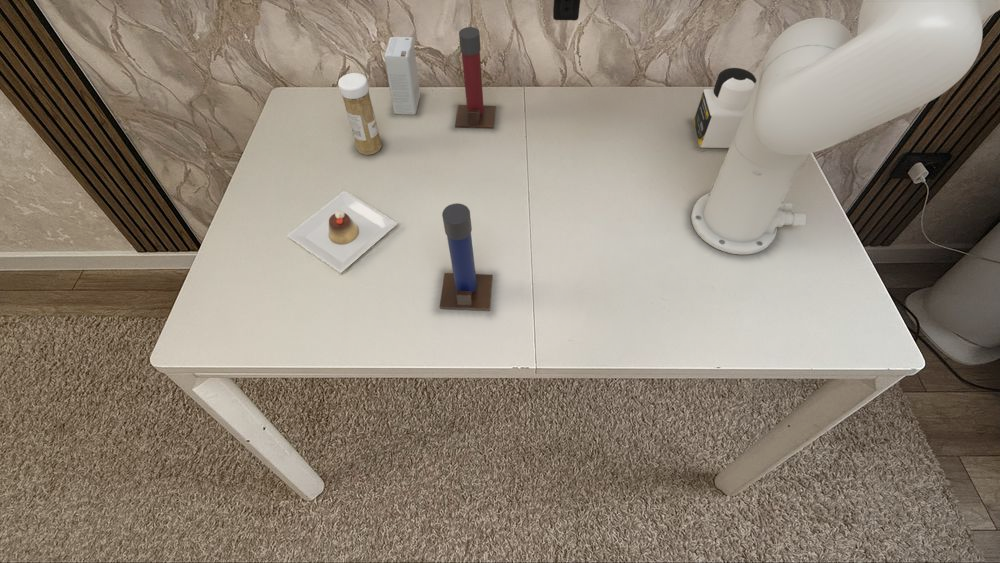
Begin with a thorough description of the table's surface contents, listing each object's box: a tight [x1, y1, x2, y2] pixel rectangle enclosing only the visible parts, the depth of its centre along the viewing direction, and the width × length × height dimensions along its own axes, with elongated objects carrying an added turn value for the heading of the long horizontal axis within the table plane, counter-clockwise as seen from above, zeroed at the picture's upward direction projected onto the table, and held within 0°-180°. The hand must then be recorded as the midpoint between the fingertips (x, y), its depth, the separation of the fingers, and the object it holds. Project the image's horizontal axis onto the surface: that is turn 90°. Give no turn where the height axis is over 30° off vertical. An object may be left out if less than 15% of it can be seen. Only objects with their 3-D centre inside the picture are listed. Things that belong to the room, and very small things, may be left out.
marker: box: [441, 202, 477, 293], centre depth 72 cm, size 3×3×15 cm
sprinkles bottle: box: [337, 72, 383, 156], centre depth 92 cm, size 5×5×14 cm
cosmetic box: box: [384, 36, 421, 115], centre depth 100 cm, size 6×4×12 cm
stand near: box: [439, 272, 494, 312], centre depth 78 cm, size 7×6×3 cm
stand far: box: [454, 104, 497, 130], centre depth 101 cm, size 7×6×3 cm
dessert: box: [286, 190, 398, 274], centre depth 84 cm, size 12×12×5 cm
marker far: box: [458, 26, 485, 115], centre depth 95 cm, size 3×3×15 cm
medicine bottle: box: [692, 67, 757, 149], centre depth 94 cm, size 7×7×12 cm
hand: (565, 16), depth 72 cm, fingers closed
